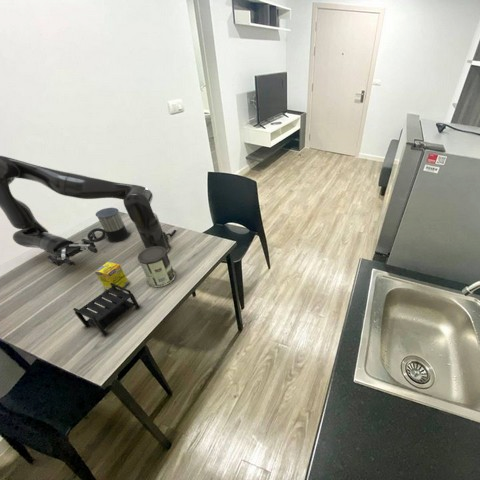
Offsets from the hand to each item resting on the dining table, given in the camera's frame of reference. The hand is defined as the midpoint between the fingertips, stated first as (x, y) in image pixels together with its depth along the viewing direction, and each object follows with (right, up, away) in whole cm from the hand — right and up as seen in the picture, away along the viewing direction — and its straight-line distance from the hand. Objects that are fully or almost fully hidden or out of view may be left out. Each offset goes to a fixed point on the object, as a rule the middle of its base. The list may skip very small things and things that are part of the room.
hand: (85, 257), depth 104 cm
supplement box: (+10, -13, +5) cm, 17 cm away
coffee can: (+25, -10, +10) cm, 29 cm away
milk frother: (-14, +8, +30) cm, 34 cm away
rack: (+17, -22, -7) cm, 28 cm away
